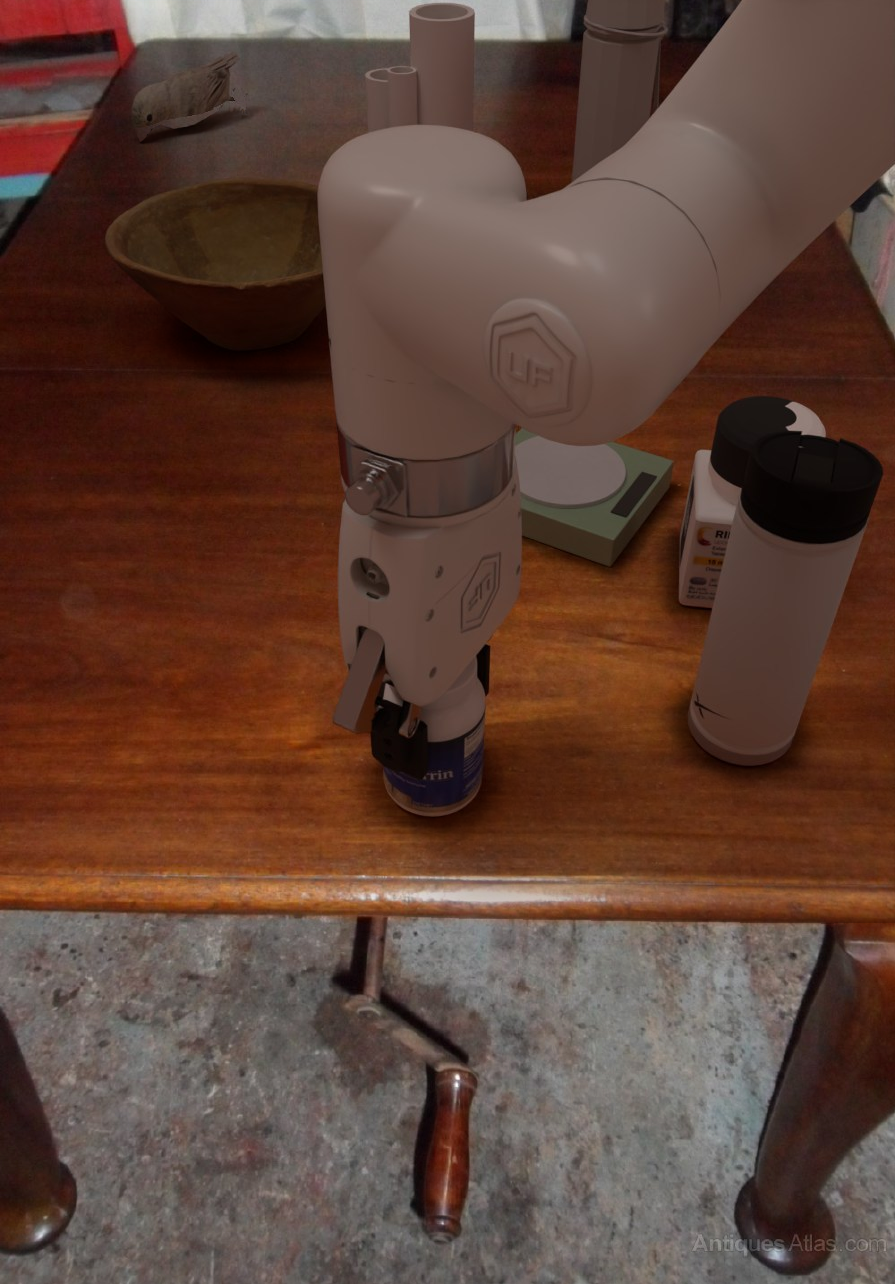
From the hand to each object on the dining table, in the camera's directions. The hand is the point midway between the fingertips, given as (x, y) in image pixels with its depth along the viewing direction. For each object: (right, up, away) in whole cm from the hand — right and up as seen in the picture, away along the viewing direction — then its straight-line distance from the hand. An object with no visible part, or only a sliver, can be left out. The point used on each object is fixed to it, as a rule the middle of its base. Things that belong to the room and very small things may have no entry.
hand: (431, 724), depth 58 cm
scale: (+10, +15, +22) cm, 29 cm away
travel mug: (+18, -1, +6) cm, 19 cm away
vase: (-2, +52, +60) cm, 79 cm away
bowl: (-17, +34, +42) cm, 56 cm away
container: (+21, +9, +16) cm, 28 cm away
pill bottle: (0, -4, +4) cm, 5 cm away
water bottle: (+18, +48, +56) cm, 76 cm away
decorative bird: (-32, +71, +80) cm, 112 cm away
